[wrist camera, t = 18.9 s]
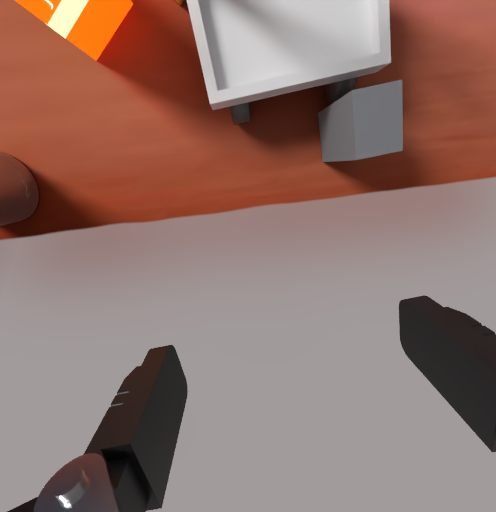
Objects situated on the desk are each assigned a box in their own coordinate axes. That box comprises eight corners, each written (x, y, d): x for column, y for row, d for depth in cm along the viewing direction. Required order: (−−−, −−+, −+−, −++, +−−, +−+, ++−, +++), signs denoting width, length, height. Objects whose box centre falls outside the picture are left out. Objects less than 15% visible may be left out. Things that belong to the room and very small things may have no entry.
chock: (322, 162, 36) (356, 160, 26) (317, 113, 34) (351, 90, 24) (355, 155, 36) (402, 150, 26) (352, 105, 34) (402, 79, 24)
